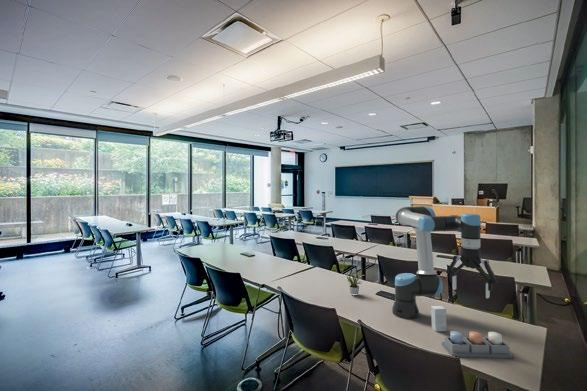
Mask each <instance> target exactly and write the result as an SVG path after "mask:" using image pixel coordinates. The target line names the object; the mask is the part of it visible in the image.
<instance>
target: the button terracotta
mask: <svg viewBox="0 0 587 391" xmlns="http://www.w3.org/2000/svg"><path fill="white" fill-rule="evenodd" d="M468 337H469V341H470V342H471V343H473V344H477V345H481V344H483V334H482V333H481V332H478V331H473V330H472V331H471V330H470V331H468Z"/></svg>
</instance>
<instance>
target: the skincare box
mask: <svg viewBox="0 0 587 391" xmlns="http://www.w3.org/2000/svg"><path fill="white" fill-rule="evenodd" d="M430 311H431V329H432V330H433V331H434V332H436V333H437V332H447V308H445V307H444V306H443V305H430Z"/></svg>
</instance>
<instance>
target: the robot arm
mask: <svg viewBox="0 0 587 391" xmlns="http://www.w3.org/2000/svg"><path fill="white" fill-rule="evenodd" d="M395 220H396V221H397V223H398V224H400V225H402V226H411V227H412V230H413V231H414V232H415V242H416V254H417V265H418V267H417V268H418V270H416V274H414V273H410V272H409V273H408V272H405V273H404V272H403V273H398V274H397V275H396V276H394V303H393V305H392V307H391V309H392V310H391V311H392V312H391V313H392V314H393V315H395V316H396V317H399V318H402V319H409V320H410V319H412V320H413V319H417V318H419V316H420V310H419V307H418V304H417V301H416V300H417V297H435V296H436V297H437V296H440V295H441V293H442V291H443V287H444V286H443V280H442V278H441V277H440V275H438V273H437V271H435V266H434V265H435V264H434V254H433V245H432V233H431V232H434V233H435V232H458V233H460V242H461V243H460V246H461V247H460V256H459V255H458V254H456V255H454V256H452V257H453V258H452V259H453V260H452V261H451V263H450V264H449V266H448V268H447V269H446V271H445V272H446V274H448V275H449V276H450V277H449V279H450V280H449V281H450V282H451V283H452V290H453V291H456V290H457V273H458V272H459V271H460V270H462V268H464V267H465V268H470V269H472V270H473V269H476V270H477V271H478V272H479V273H480V275H481V276H482V278H484V280H485V281H486V283H485V298H486V299H489V298H491V297H490V296H491V295H490V293H491V292H492V290H493V284H496V283H498V281H499V280H498V279H497V277H496V275H495V274H494V271H493V269H492V268H491V266H490V261H489V259H486V260H485V259H481V231H482V230H481V229H482V228H481V227H482V222H481V216H480V214H478V213H471V212H470V213H466V212H465V213H462V214H461V216H460V215H458V214H456V215H454V214H451V215H445V216H444V215H441V216H439V215H438V216H436V213H435V211H434V209H433V208H432V207H429V206H423V205H422V206H404V207H401V208H399V209H398V210H397V211H396V213H395ZM459 260H460V261H461V263H460V264H459V265H458V266H457V267H456V268H455V269H454V267H455V266H456V265H457V263H458V261H459ZM481 264H482V265H483V266H484V268H485V270H486V271H485V270H484V269H483V267H482V265H481ZM453 269H454V270H453ZM455 274H456V275H455Z"/></svg>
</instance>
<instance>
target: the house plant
mask: <svg viewBox="0 0 587 391" xmlns="http://www.w3.org/2000/svg"><path fill="white" fill-rule="evenodd" d="M359 273H360V272H356V275H355V273H354V272H353V273H352V272H350V275H351V276H352V277H351V276H350V275H349V274H347V275H346V279H347V280H346V282H347V283H348V285H349V286H348V287H349V293H350V295H351V294H358V295H359V291H360V290H359V289H360V285H361V284H362V282H363V281H361V280H360V279H361V278H362V277H363V276H364V274H363V275H361V274H359ZM359 280H360V281H359Z"/></svg>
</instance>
